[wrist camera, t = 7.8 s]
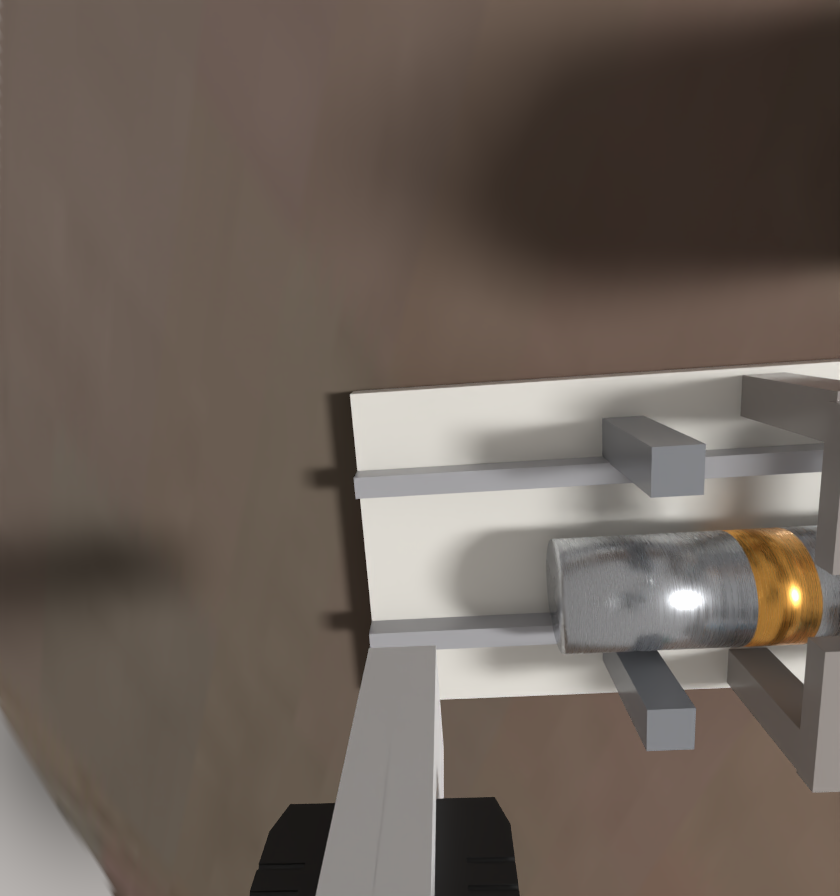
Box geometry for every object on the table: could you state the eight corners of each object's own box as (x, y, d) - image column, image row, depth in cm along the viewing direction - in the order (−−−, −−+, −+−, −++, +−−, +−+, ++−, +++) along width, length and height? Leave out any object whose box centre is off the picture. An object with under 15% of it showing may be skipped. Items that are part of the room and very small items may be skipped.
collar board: (353, 391, 22) (315, 421, 15) (999, 347, 21) (1271, 360, 14) (382, 687, 25) (360, 825, 18) (953, 662, 24) (1162, 800, 17)
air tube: (543, 581, 23) (562, 675, 20) (550, 516, 21) (574, 613, 18) (897, 564, 23) (971, 658, 20) (952, 494, 20) (1048, 592, 17)
